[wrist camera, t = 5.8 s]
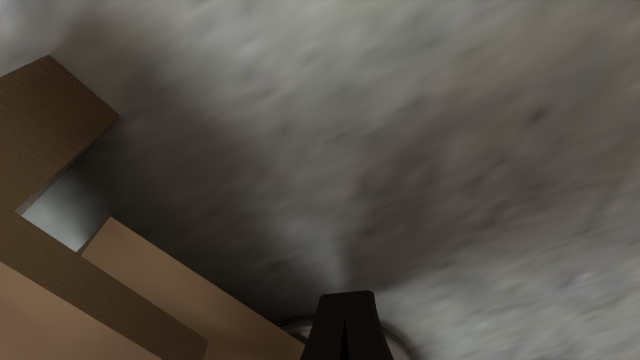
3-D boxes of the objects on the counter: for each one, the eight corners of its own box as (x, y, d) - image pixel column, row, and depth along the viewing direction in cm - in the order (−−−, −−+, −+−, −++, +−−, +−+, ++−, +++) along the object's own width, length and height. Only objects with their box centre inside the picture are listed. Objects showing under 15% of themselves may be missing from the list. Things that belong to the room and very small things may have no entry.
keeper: (245, 223, 11) (196, 380, 7) (134, 301, 13) (50, 458, 9) (47, 54, 9) (-171, 157, 5) (-53, 180, 10) (-265, 322, 7)
